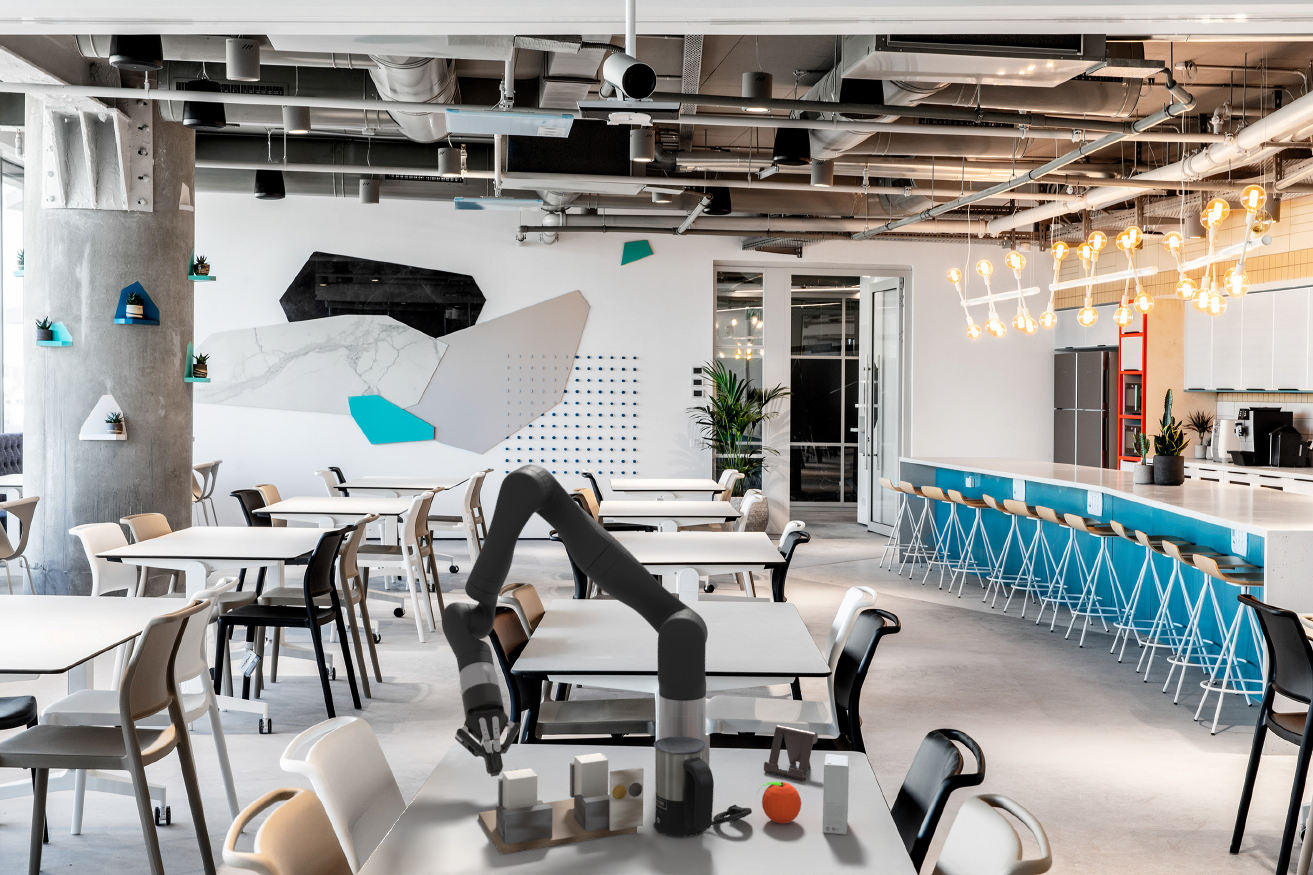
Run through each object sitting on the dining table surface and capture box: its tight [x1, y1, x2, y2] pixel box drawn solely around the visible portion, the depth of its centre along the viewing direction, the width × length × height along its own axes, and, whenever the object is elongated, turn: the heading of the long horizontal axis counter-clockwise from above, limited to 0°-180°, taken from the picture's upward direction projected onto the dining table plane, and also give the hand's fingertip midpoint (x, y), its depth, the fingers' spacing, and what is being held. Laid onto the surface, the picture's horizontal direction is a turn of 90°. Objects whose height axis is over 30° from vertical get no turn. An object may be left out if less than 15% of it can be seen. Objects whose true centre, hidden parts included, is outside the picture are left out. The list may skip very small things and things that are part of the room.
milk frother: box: [653, 736, 752, 838], centre depth 180 cm, size 14×16×15 cm
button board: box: [478, 766, 645, 855], centre depth 180 cm, size 25×16×11 cm, turn 113°
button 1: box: [497, 767, 538, 810], centre depth 176 cm, size 6×5×9 cm
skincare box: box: [822, 753, 850, 836], centre depth 180 cm, size 6×4×12 cm
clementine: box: [756, 781, 802, 824], centre depth 182 cm, size 8×7×7 cm
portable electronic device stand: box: [763, 724, 819, 782], centre depth 207 cm, size 9×8×8 cm
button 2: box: [569, 752, 609, 799], centre depth 185 cm, size 6×5×9 cm
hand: (496, 773), depth 190 cm, fingers closed
